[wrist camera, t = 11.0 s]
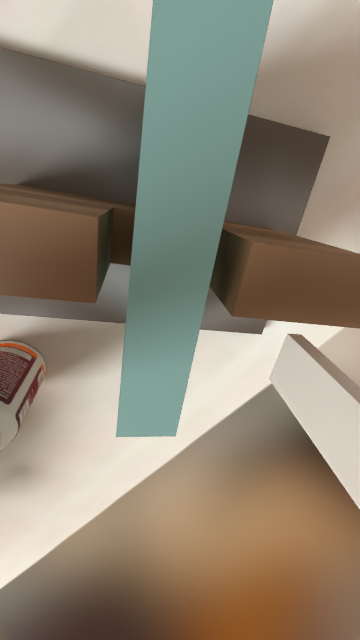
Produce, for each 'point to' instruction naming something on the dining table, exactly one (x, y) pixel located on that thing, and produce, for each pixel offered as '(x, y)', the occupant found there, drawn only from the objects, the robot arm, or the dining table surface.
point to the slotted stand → (120, 203)
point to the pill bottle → (17, 385)
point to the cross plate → (183, 193)
